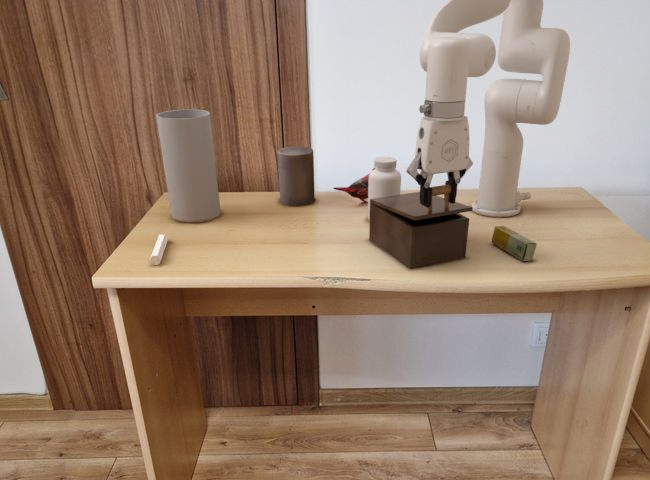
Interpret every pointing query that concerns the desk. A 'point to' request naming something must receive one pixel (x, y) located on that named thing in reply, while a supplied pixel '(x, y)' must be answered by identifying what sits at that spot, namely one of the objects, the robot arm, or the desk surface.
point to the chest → (419, 237)
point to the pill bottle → (383, 180)
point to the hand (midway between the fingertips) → (437, 202)
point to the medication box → (514, 243)
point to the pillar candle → (296, 176)
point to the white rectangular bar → (158, 249)
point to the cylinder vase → (189, 164)
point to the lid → (415, 211)
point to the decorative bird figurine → (358, 189)
